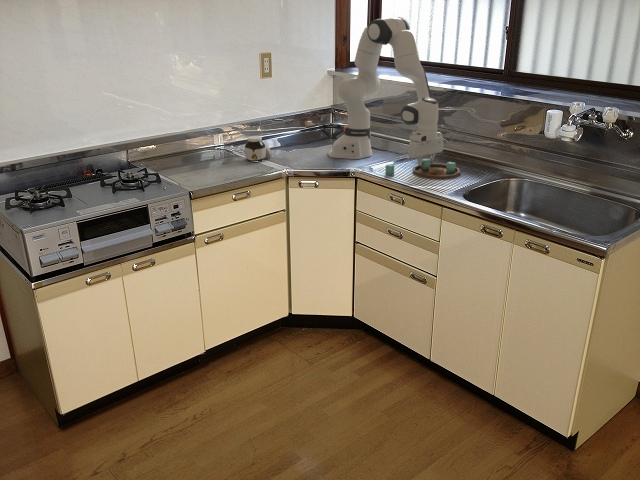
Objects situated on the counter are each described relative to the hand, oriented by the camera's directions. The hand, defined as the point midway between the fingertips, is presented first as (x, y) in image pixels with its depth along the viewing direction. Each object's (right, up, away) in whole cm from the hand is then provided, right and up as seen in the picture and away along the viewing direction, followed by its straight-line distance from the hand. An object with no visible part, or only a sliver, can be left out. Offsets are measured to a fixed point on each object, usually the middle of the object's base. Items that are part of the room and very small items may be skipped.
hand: (425, 164), depth 289 cm
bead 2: (0, -2, +1) cm, 3 cm away
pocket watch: (+3, +2, +15) cm, 16 cm away
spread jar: (-79, +5, +23) cm, 83 cm away
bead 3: (+11, -4, -4) cm, 12 cm away
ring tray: (+4, -5, -3) cm, 7 cm away
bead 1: (-17, -6, -4) cm, 18 cm away
